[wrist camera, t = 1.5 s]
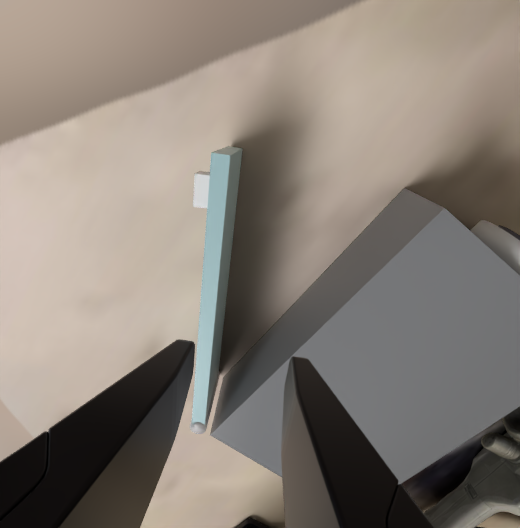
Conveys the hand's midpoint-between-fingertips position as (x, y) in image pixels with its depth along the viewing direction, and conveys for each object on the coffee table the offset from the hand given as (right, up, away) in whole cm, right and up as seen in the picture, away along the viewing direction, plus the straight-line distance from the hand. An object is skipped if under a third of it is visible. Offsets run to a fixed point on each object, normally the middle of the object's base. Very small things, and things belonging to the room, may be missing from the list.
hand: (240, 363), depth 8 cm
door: (-2, +1, +13) cm, 14 cm away
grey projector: (+8, -3, +15) cm, 17 cm away
